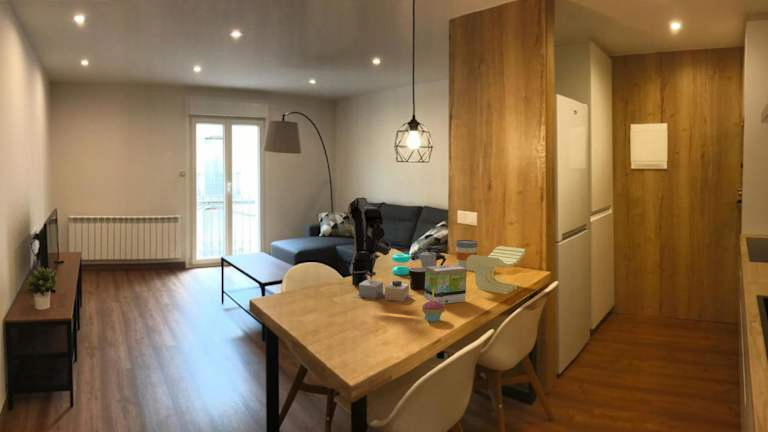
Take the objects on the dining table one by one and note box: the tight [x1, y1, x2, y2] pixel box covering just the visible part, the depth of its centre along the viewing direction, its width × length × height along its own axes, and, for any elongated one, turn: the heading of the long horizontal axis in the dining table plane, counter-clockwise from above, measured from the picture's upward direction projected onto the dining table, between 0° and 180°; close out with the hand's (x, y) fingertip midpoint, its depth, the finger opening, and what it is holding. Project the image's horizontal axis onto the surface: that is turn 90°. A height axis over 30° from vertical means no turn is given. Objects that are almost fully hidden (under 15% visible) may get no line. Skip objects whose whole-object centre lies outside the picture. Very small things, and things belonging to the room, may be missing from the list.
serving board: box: [353, 291, 414, 304], centre depth 210 cm, size 23×13×1 cm, turn 69°
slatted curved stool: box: [466, 245, 526, 295], centre depth 229 cm, size 30×16×18 cm, turn 142°
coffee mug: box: [408, 266, 426, 291], centre depth 225 cm, size 12×9×10 cm
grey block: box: [358, 279, 384, 298], centre depth 213 cm, size 8×10×6 cm
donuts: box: [391, 253, 412, 276], centre depth 258 cm, size 10×10×10 cm
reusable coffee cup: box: [455, 239, 478, 268], centre depth 275 cm, size 13×13×15 cm
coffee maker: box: [416, 246, 447, 269], centre depth 238 cm, size 15×9×18 cm, turn 68°
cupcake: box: [421, 290, 446, 323], centre depth 181 cm, size 9×8×12 cm
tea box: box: [423, 263, 468, 305], centre depth 207 cm, size 15×10×15 cm
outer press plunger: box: [392, 280, 403, 286], centre depth 208 cm, size 6×6×7 cm
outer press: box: [384, 281, 410, 301], centre depth 209 cm, size 8×10×6 cm
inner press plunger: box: [367, 270, 377, 283], centre depth 212 cm, size 6×6×7 cm
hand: (371, 272), depth 211 cm, fingers closed, pressing on inner press plunger
